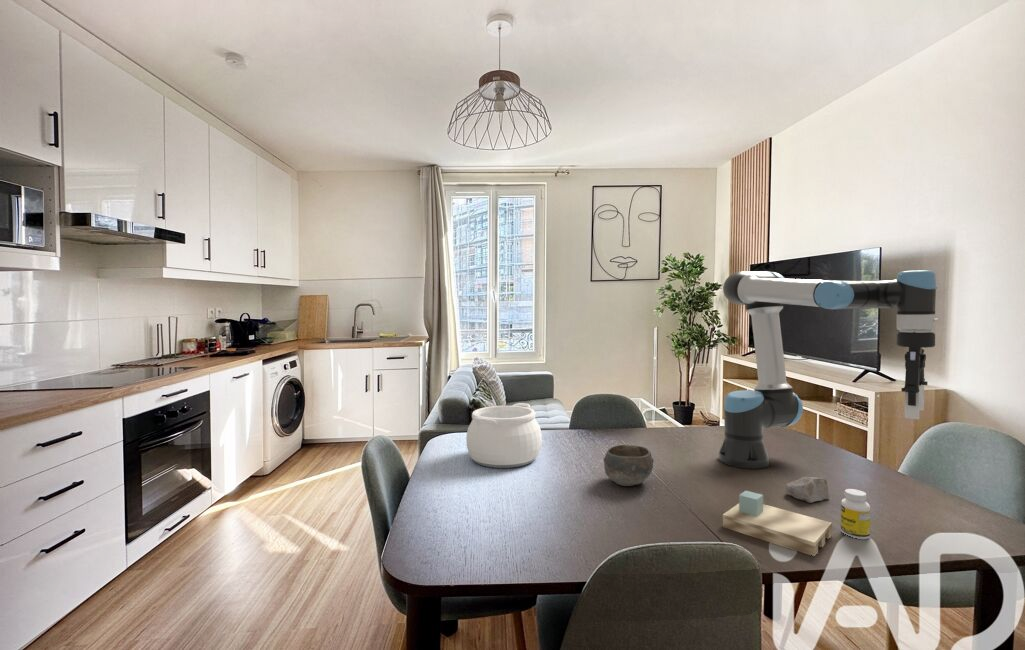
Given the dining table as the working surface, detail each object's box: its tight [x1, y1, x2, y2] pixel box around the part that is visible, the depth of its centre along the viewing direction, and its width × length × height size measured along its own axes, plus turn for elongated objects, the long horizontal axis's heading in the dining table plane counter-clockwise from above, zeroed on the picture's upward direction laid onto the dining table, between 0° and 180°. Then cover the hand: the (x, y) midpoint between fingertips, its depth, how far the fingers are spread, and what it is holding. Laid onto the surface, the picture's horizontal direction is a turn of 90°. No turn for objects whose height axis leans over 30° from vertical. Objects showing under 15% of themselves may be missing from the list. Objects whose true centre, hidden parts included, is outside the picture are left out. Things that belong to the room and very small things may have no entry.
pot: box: [466, 402, 543, 469], centre depth 166 cm, size 29×26×17 cm
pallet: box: [722, 502, 833, 557], centre depth 110 cm, size 19×13×3 cm
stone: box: [785, 476, 831, 504], centre depth 129 cm, size 10×8×6 cm
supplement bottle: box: [840, 488, 871, 540], centre depth 108 cm, size 5×5×10 cm
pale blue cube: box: [738, 490, 764, 516], centre depth 114 cm, size 4×4×4 cm
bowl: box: [603, 444, 655, 487], centre depth 141 cm, size 14×15×10 cm
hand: (914, 414), depth 122 cm, fingers open, 13 cm apart
